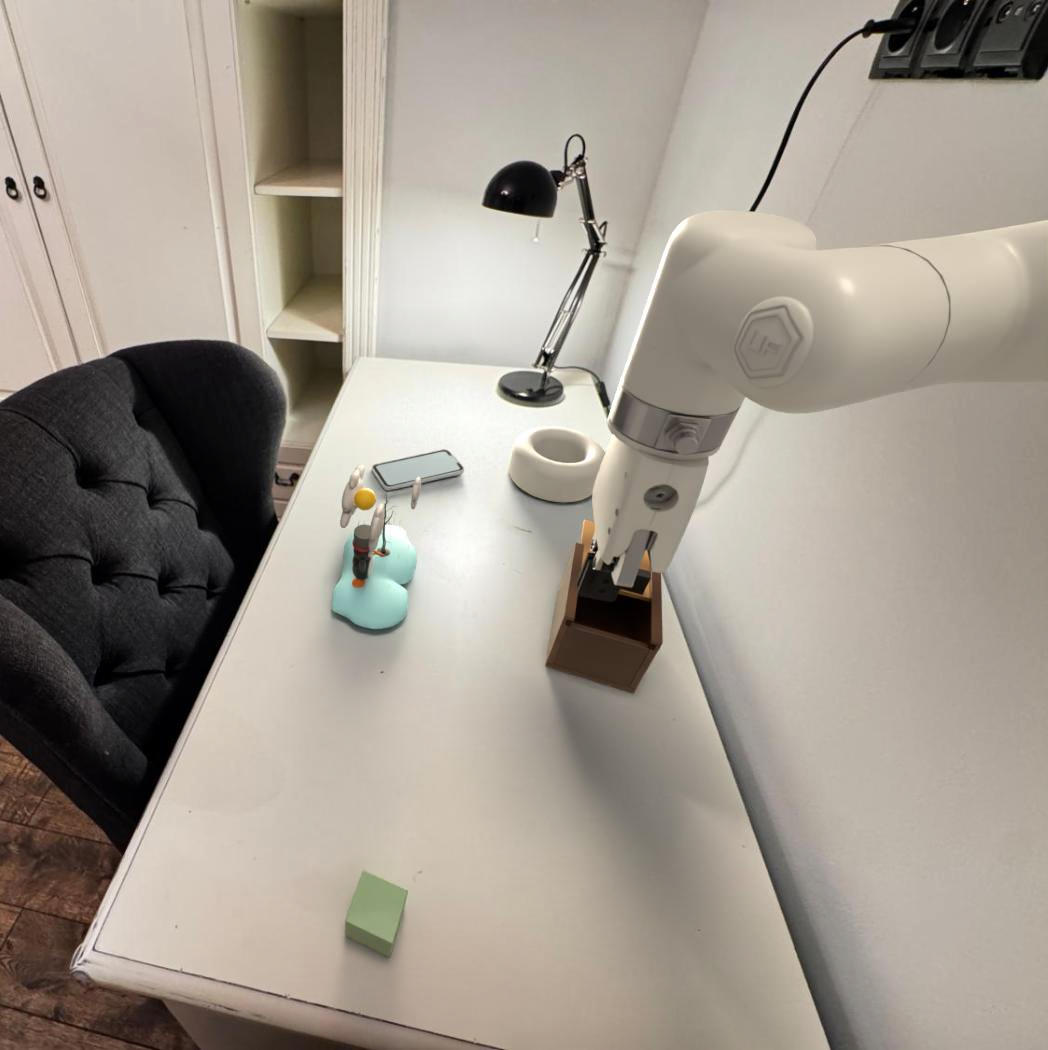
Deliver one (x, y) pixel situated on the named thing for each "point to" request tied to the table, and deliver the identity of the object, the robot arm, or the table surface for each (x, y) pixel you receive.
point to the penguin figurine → (374, 561)
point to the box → (604, 632)
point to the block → (375, 913)
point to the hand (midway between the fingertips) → (594, 592)
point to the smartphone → (417, 469)
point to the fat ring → (555, 463)
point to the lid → (644, 574)
